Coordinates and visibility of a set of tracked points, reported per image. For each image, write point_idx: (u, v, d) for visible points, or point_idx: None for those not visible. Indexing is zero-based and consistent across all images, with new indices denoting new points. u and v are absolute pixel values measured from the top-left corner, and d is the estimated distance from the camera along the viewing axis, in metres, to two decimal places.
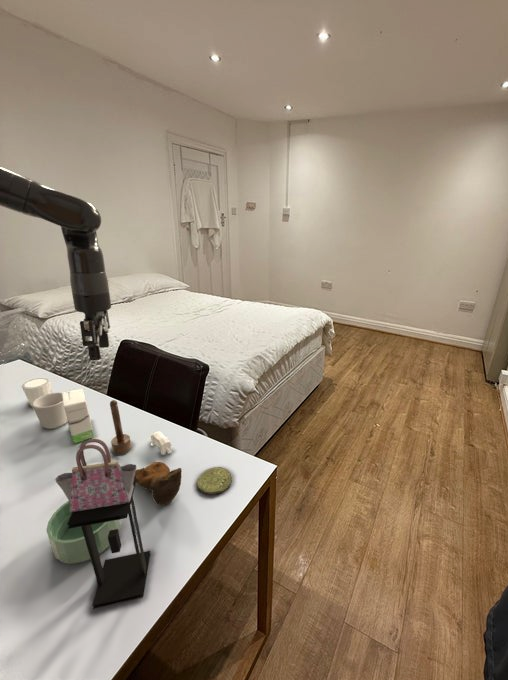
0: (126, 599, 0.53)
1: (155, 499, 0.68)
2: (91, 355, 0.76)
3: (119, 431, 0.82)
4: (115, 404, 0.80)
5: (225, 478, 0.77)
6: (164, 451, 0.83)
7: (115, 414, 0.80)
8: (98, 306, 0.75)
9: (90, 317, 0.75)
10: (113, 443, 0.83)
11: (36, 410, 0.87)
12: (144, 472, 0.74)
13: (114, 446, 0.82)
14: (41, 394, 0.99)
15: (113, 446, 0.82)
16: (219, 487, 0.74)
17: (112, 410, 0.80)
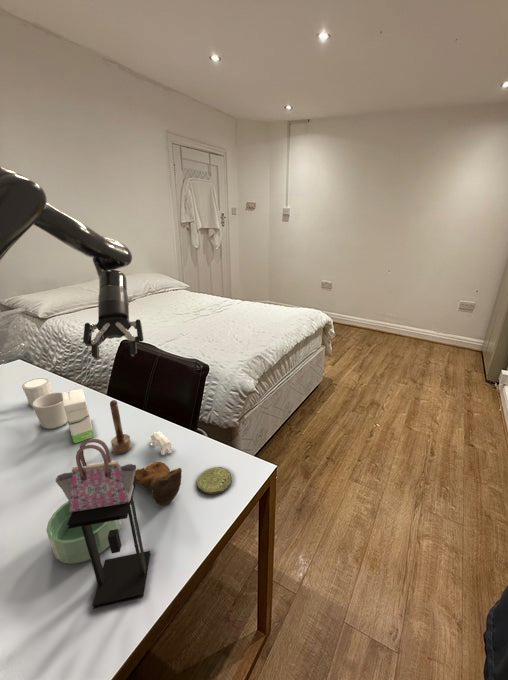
0: (126, 599, 0.53)
1: (155, 499, 0.68)
2: (135, 349, 0.89)
3: (119, 431, 0.82)
4: (115, 404, 0.80)
5: (225, 478, 0.77)
6: (164, 451, 0.83)
7: (115, 414, 0.80)
8: None
9: None
10: (113, 443, 0.83)
11: (36, 410, 0.87)
12: (144, 472, 0.74)
13: (114, 446, 0.82)
14: (41, 394, 0.99)
15: (113, 446, 0.82)
16: (219, 487, 0.74)
17: (112, 410, 0.80)
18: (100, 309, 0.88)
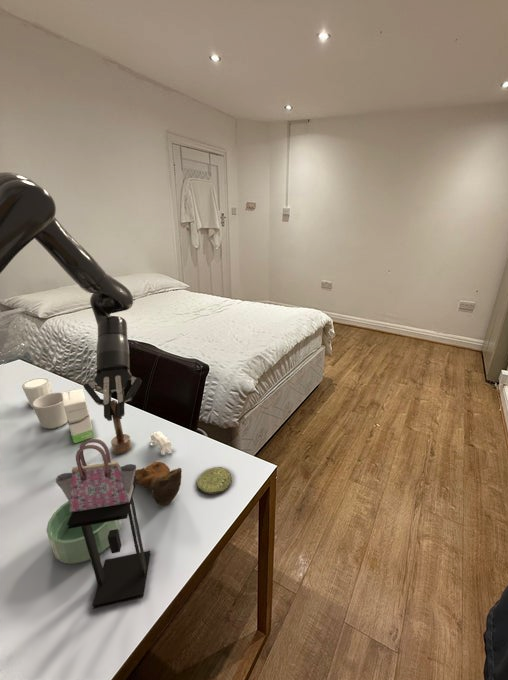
0: (126, 599, 0.53)
1: (155, 499, 0.68)
2: (123, 411, 0.80)
3: (119, 431, 0.82)
4: (115, 404, 0.80)
5: (225, 478, 0.77)
6: (164, 451, 0.83)
7: (115, 414, 0.80)
8: None
9: None
10: (113, 443, 0.83)
11: (36, 410, 0.87)
12: (144, 472, 0.74)
13: (114, 446, 0.82)
14: (41, 394, 0.99)
15: (113, 446, 0.82)
16: (219, 487, 0.74)
17: (112, 410, 0.80)
18: (98, 361, 0.81)
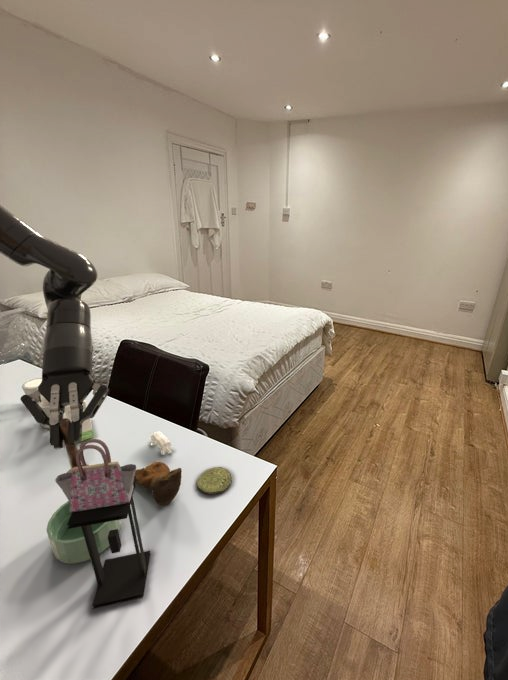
0: (126, 599, 0.53)
1: (155, 499, 0.68)
2: (79, 434, 0.55)
3: (75, 462, 0.57)
4: (67, 424, 0.55)
5: (225, 478, 0.77)
6: (164, 451, 0.83)
7: (68, 439, 0.55)
8: None
9: (93, 380, 0.60)
10: None
11: None
12: (144, 472, 0.74)
13: None
14: None
15: None
16: (219, 487, 0.74)
17: (63, 433, 0.55)
18: (44, 362, 0.56)
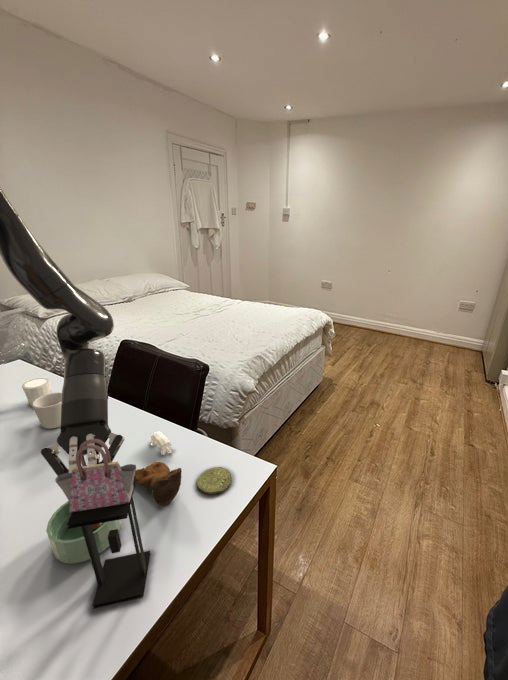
0: (126, 599, 0.53)
1: (155, 499, 0.68)
2: None
3: None
4: None
5: (225, 478, 0.77)
6: (164, 451, 0.83)
7: None
8: None
9: (109, 429, 0.62)
10: None
11: (36, 410, 0.87)
12: (144, 472, 0.74)
13: None
14: (41, 394, 0.99)
15: None
16: (219, 487, 0.74)
17: None
18: (63, 415, 0.59)
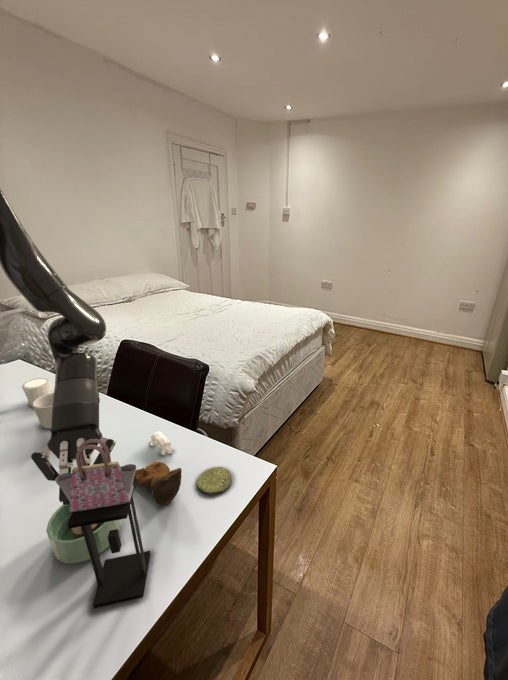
0: (126, 599, 0.53)
1: (155, 499, 0.68)
2: None
3: None
4: None
5: (225, 478, 0.77)
6: (164, 451, 0.83)
7: None
8: None
9: (100, 434, 0.62)
10: (75, 531, 0.60)
11: (36, 410, 0.87)
12: (144, 472, 0.74)
13: (76, 535, 0.60)
14: (41, 394, 0.99)
15: (75, 535, 0.60)
16: (219, 487, 0.74)
17: None
18: (54, 419, 0.59)
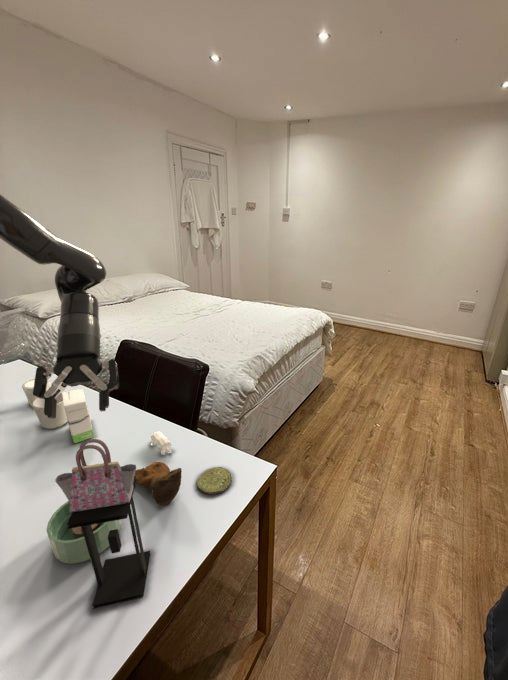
0: (126, 599, 0.53)
1: (155, 499, 0.68)
2: (107, 401, 0.65)
3: None
4: None
5: (225, 478, 0.77)
6: (164, 451, 0.83)
7: None
8: None
9: None
10: (75, 530, 0.60)
11: (36, 410, 0.87)
12: (144, 472, 0.74)
13: (76, 535, 0.60)
14: None
15: (75, 535, 0.60)
16: (219, 487, 0.74)
17: None
18: (59, 347, 0.65)
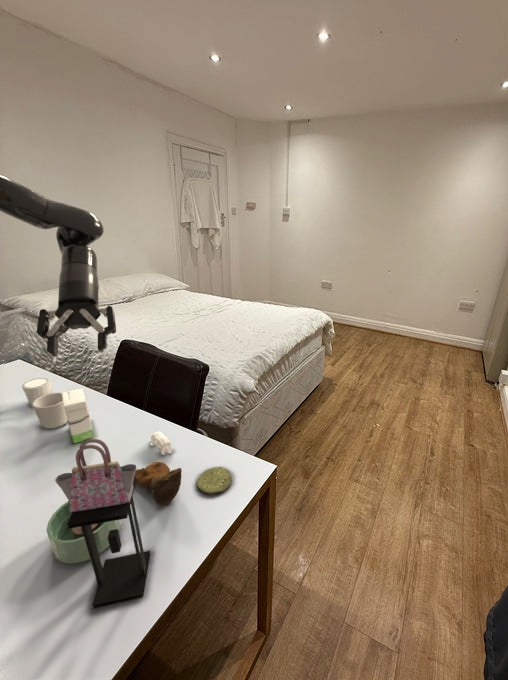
0: (126, 599, 0.53)
1: (155, 499, 0.68)
2: (105, 343, 0.71)
3: None
4: None
5: (225, 478, 0.77)
6: (164, 451, 0.83)
7: None
8: None
9: None
10: (75, 530, 0.60)
11: (36, 410, 0.87)
12: (144, 472, 0.74)
13: (76, 535, 0.60)
14: (41, 394, 0.99)
15: (75, 535, 0.60)
16: (219, 487, 0.74)
17: None
18: (60, 292, 0.70)
